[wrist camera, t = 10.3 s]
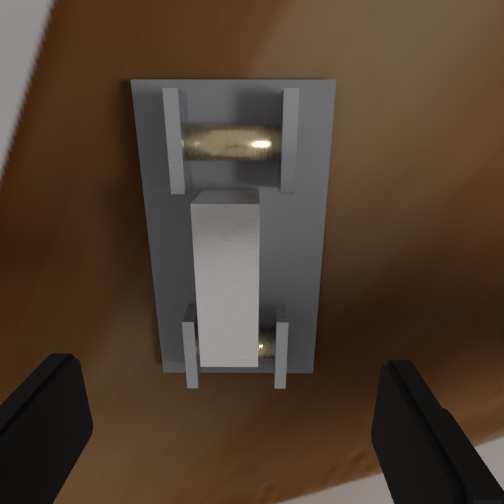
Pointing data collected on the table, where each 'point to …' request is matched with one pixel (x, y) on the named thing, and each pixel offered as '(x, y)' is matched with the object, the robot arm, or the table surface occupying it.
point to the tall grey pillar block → (227, 275)
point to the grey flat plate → (239, 177)
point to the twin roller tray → (232, 149)
